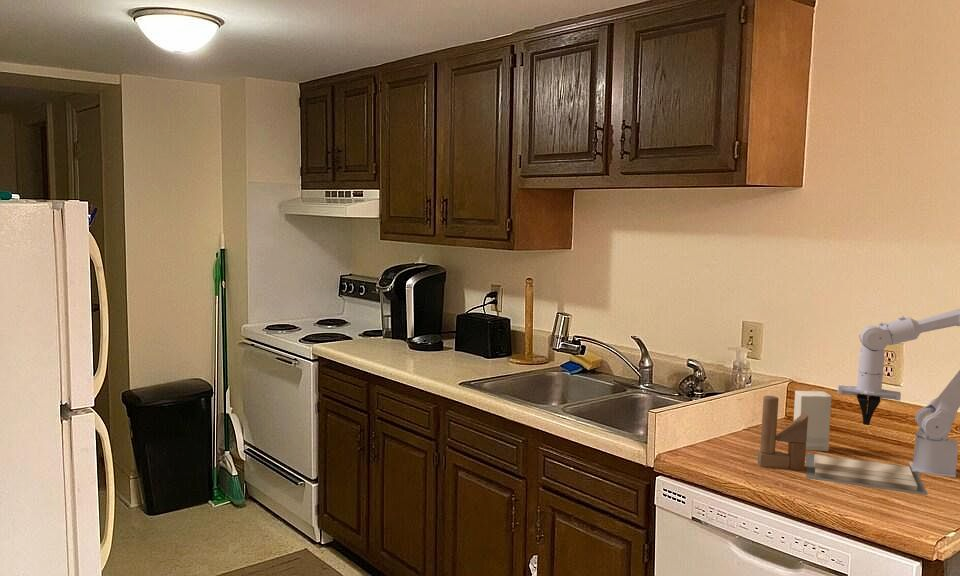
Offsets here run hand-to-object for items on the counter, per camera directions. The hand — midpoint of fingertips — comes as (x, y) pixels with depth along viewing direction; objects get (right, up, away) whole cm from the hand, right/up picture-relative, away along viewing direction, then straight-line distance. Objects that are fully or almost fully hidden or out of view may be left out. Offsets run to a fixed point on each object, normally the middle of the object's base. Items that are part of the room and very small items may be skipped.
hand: (866, 424), depth 205 cm
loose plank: (-4, -11, -5) cm, 12 cm away
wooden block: (-24, -10, -4) cm, 26 cm away
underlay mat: (-5, -11, -8) cm, 14 cm away
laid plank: (-7, -11, -13) cm, 18 cm away
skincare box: (-9, -9, +13) cm, 18 cm away
